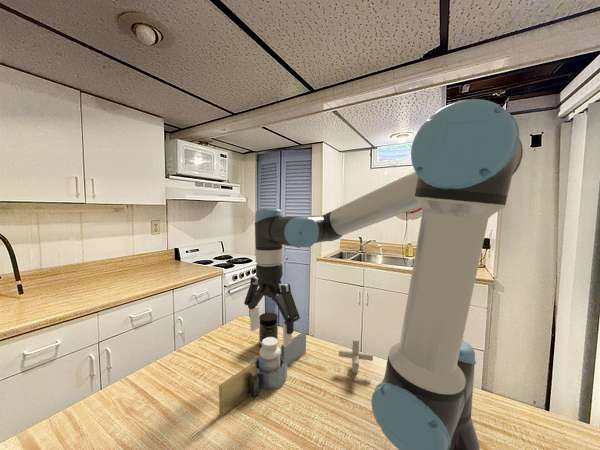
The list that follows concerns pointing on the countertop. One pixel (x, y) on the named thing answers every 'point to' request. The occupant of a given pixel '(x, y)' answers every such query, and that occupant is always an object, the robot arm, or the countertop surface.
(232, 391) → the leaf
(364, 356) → the pipe connector
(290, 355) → the hinge base
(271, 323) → the supplement container
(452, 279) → the robot arm
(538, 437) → the countertop surface
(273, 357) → the pill bottle
